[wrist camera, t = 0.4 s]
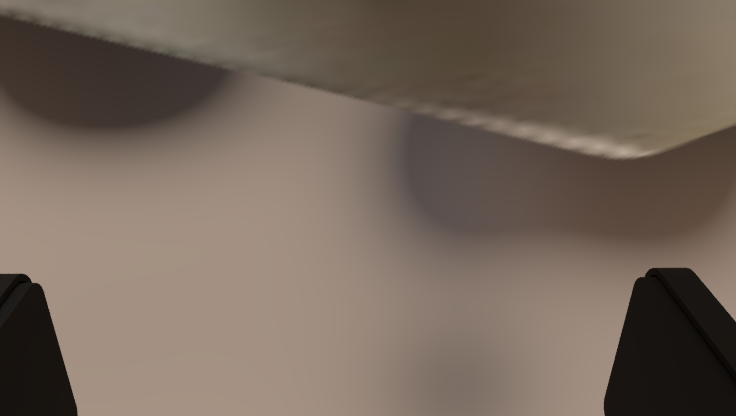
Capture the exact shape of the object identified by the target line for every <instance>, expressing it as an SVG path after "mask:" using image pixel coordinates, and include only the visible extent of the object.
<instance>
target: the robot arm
mask: <svg viewBox="0 0 736 416" xmlns="http://www.w3.org/2000/svg"><path fill="white" fill-rule="evenodd" d="M604 413H605V416H736V322H735V320H734V319H733V318H732V317H731V316H730V314H729V313H728V312H727V311H726V310H725V309H724V307H723V306H722V305H721V304H720V303H719V301H718V300H717V299H716V298H715V297H714V295H713V294H712V293H711V292H710V291H709V289H708V288H707V287H706V286H705V285H704V283H703V282H702V281H701V280H700V279H699V277H698V276H697V275H696V274H695V273H694V272H693V271H692V270H691V269H689V268H652V269H650V270H649V271H648V272H647V273H646V275H645V277H640V278H638V279H637V280H636V281H635V284H634V287H633V291H632V295H631V298H630V302H629V306H628V310H627V314H626V318H625V322H624V326H623V329H622V333H621V337H620V341H619V345H618V348H617V352H616V356H615V360H614V364H613V367H612V371H611V375H610V379H609V383H608V387H607V390H606V395H605V399H604ZM0 416H77V406H76V403H75V399H74V396H73V393H72V389H71V386H70V382H69V378H68V375H67V371H66V368H65V365H64V361H63V357H62V354H61V350H60V347H59V343H58V340H57V336H56V333H55V330H54V326H53V323H52V319H51V316H50V312H49V309H48V305H47V302H46V298H45V295H44V291H43V289H42V287H41V286H40V285H39V284H38V283H32V282H31V279H30V278H29V277H28V276H27V275H25V274H0Z"/></svg>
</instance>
